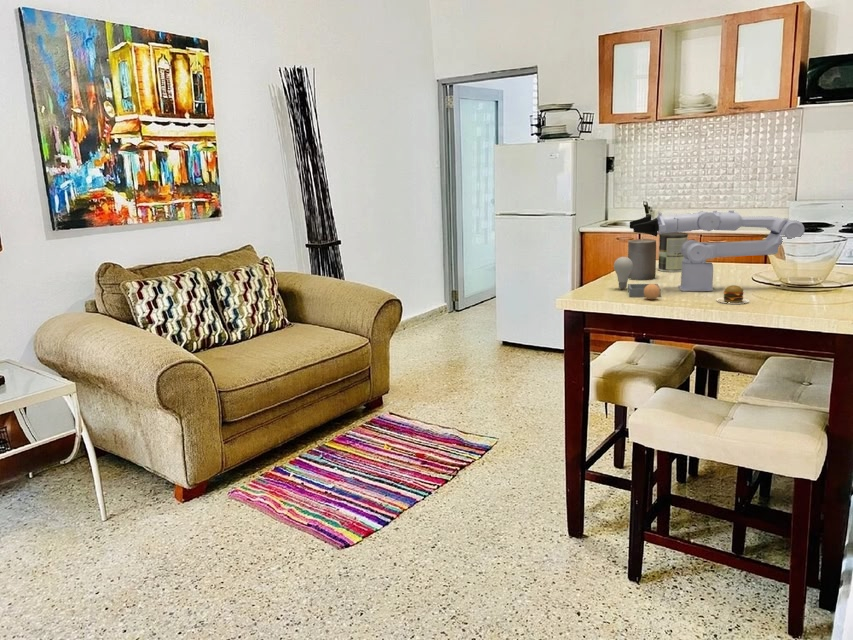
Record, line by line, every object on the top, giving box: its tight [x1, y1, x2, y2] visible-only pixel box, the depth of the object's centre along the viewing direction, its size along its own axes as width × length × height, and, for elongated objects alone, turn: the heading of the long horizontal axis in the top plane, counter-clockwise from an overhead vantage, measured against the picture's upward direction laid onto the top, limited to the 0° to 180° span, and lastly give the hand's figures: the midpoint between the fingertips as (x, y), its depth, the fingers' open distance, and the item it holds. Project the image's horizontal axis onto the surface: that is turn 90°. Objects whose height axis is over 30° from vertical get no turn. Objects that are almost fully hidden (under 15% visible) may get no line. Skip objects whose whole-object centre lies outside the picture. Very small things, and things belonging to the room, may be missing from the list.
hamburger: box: [715, 285, 750, 305], centre depth 195 cm, size 12×12×6 cm
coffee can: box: [657, 232, 689, 273], centre depth 254 cm, size 10×10×14 cm
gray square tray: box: [627, 283, 662, 298], centre depth 211 cm, size 9×9×2 cm
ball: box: [644, 283, 661, 301], centre depth 203 cm, size 5×5×5 cm
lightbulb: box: [613, 256, 633, 290], centre depth 220 cm, size 6×6×11 cm
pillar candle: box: [627, 237, 657, 281], centre depth 239 cm, size 10×10×15 cm
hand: (631, 226), depth 215 cm, fingers open, 7 cm apart
